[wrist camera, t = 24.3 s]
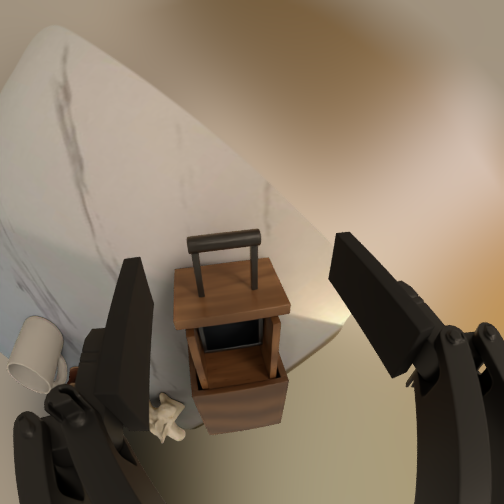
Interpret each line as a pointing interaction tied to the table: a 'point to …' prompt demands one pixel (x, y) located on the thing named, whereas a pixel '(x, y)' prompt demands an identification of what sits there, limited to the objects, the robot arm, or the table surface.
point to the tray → (231, 336)
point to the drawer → (230, 308)
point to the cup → (38, 356)
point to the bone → (166, 418)
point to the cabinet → (240, 402)
